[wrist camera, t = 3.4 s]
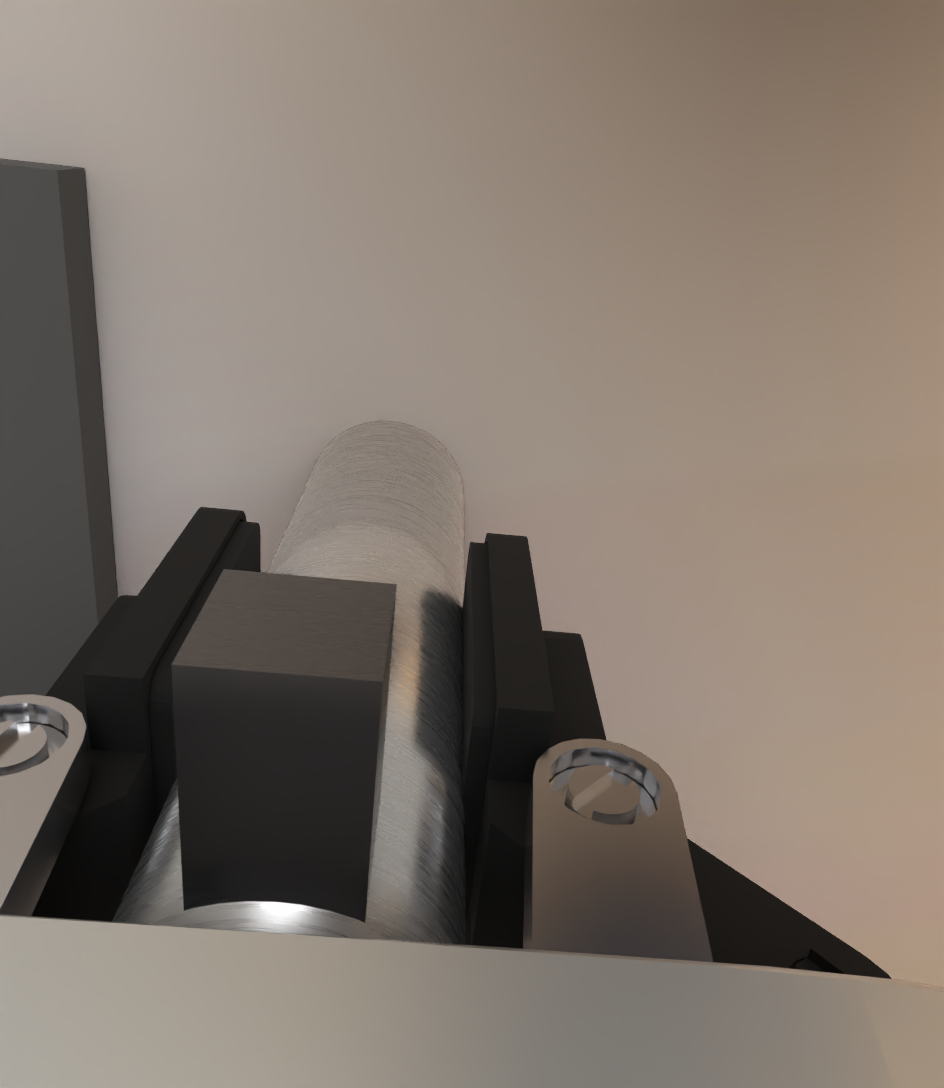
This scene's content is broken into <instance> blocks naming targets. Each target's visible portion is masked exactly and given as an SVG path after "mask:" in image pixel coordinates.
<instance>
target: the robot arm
mask: <svg viewBox="0 0 944 1088" xmlns="http://www.w3.org/2000/svg"><path fill="white" fill-rule="evenodd" d="M224 569H229V570H240V571H252V572H260V526H259V524H258V523H253V522H246V516H245V513H244V511H239V510H228V509H217V508H206V507H201V508H199V509H198V511H197V512H196V513H195V515H194V516H193V518H192V519H191V521H190V522H189V523H188V525H187V526H186V528H185V529H184V530H183V532H182V533H181V535H180V536H179V538H178V539H177V540H176V542H175V543H174V545H173V546H172V548H171V549H170V550H169V552H168V553H167V555H166V556H165V558H164V559H163V560H162V562H161V563H160V565H159V566H158V567H157V569H156V570H155V572H154V573H153V575H152V576H151V577H150V579H149V580H148V582H147V583H146V585H145V586H144V587H143V589H142V590H141V592H140V593H139V595H138V596H131V595H123V596H120V597H119V598H118V599H117V600H116V601H115V602H114V604H113V605H112V606H111V608H110V609H109V610H108V612H107V613H106V614H105V616H104V617H103V618H102V620H101V621H100V622H99V624H98V625H97V626H96V628H95V629H94V630H93V632H92V633H91V635H90V636H89V637H88V639H87V640H86V641H85V643H84V644H83V645H82V647H81V648H80V649H79V651H78V652H77V653H76V655H75V656H74V657H73V659H72V660H71V661H70V663H69V664H68V666H67V667H66V668H65V670H64V671H63V672H62V674H61V675H60V676H59V678H58V679H57V680H56V682H55V683H54V684H53V686H52V687H51V688H50V690H49V691H48V692H47V694H46V695H45V696H41V695H33V694H29V695H10V696H4V697H0V1088H944V988H942V987H937V986H931V985H926V984H920V983H915V982H909V981H903V980H896V979H892V978H891V977H890V976H889V975H888V974H887V973H886V972H884V971H883V970H882V969H881V968H879V967H878V966H877V965H876V964H874V963H873V962H872V961H871V960H869V959H868V958H867V957H866V956H864V955H863V954H861V953H860V952H858V951H857V950H855V949H854V948H852V947H851V946H849V945H848V944H846V943H845V942H843V941H842V940H840V939H839V938H837V937H836V936H834V935H832V934H831V933H829V932H828V931H826V930H825V929H823V928H822V927H820V926H819V925H817V924H816V923H814V922H813V921H811V920H810V919H808V918H807V917H805V916H804V915H802V914H801V913H799V912H798V911H796V910H795V909H793V908H792V907H790V906H789V905H787V904H786V903H784V902H783V901H781V900H780V899H778V898H777V897H775V896H774V895H772V894H771V893H769V892H767V891H766V890H764V889H763V888H761V887H760V886H758V885H757V884H755V883H754V882H752V881H751V880H749V879H748V878H746V877H745V876H743V875H742V874H740V873H739V872H737V871H736V870H734V869H733V868H731V867H730V866H728V865H727V864H725V863H724V862H722V861H721V860H719V859H718V858H716V857H715V856H713V855H712V854H710V853H709V852H707V851H706V850H704V849H702V848H701V847H699V846H698V845H696V844H695V843H693V842H692V841H690V840H689V839H687V837H686V832H685V827H684V823H683V818H682V813H681V809H680V804H679V799H678V795H677V792H676V789H675V787H674V785H673V783H672V780H671V778H670V777H669V776H668V775H667V774H666V772H665V771H664V770H663V769H662V768H661V767H660V766H659V765H658V764H657V763H656V762H654V761H653V760H651V759H650V758H649V757H647V756H646V755H644V754H643V753H641V752H639V751H637V750H634V749H632V748H630V747H627V746H625V745H623V744H620V743H615V742H611V741H606V737H605V732H604V728H603V724H602V720H601V716H600V711H599V707H598V703H597V699H596V694H595V690H594V686H593V682H592V678H591V673H590V669H589V665H588V661H587V656H586V652H585V648H584V644H583V640H582V637H581V635H580V634H576V633H564V632H553V631H542V626H541V620H540V614H539V607H538V601H537V595H536V589H535V582H534V576H533V570H532V563H531V557H530V551H529V545H528V539H527V537H525V536H514V535H503V534H492V533H487V535H486V539H485V543H475V542H470V547H469V554H468V563H467V572H466V580H465V589H464V598H463V607H462V803H463V808H464V816H465V924H466V945H460V944H445V943H430V942H414V941H399V940H384V939H369V938H354V937H339V936H323V935H308V934H293V933H278V932H263V931H247V930H232V929H217V928H202V927H186V926H171V925H156V924H140V923H125V922H112V921H113V918H114V916H115V914H116V912H117V909H118V907H119V905H120V903H121V900H122V898H123V896H124V894H125V891H126V889H127V887H128V885H129V882H130V880H131V878H132V876H133V873H134V871H135V869H136V867H137V864H138V862H139V860H140V858H141V855H142V853H143V851H144V849H145V846H146V844H147V842H148V840H149V837H150V835H151V833H152V831H153V828H154V826H155V824H156V822H157V819H158V817H159V815H160V813H161V810H162V808H163V806H164V804H165V802H166V799H167V797H168V795H169V793H170V790H171V788H172V786H173V784H174V781H175V779H176V777H177V766H176V746H175V725H174V705H173V685H172V665H171V664H172V663H173V661H174V659H175V657H176V655H177V653H178V652H179V650H180V648H181V646H182V644H183V643H184V641H185V639H186V637H187V635H188V633H189V632H190V630H191V628H192V626H193V624H194V622H195V621H196V619H197V617H198V615H199V613H200V612H201V610H202V608H203V606H204V604H205V602H206V601H207V599H208V597H209V595H210V593H211V591H212V590H213V588H214V586H215V584H216V582H217V580H218V579H219V577H220V575H221V573H222V571H223V570H224Z"/></svg>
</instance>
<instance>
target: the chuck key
mask: <svg viewBox="0 0 944 1088" xmlns="http://www.w3.org/2000/svg"><path fill="white" fill-rule="evenodd" d="M463 598H464V490H463V482H462V478H461V474H460V472H459V469H458V467H457V465H456V463H455V461H454V459H453V457H452V456H451V455H450V453H449V452H448V451H447V449H446V448H445V447H444V446H443V445H442V444H441V443H440V442H439V441H437V440H436V439H435V438H434V437H432V436H431V435H429V434H428V433H426V432H424V431H423V430H420V429H418V428H416V427H414V426H411V425H407V424H404V423H399V422H392V421H378V422H370V423H365V424H361V425H358V426H355V427H353V428H351V429H349V430H347V431H345V432H343V433H342V434H340V435H339V436H337V437H336V438H335V439H334V440H333V441H331V442H330V443H329V444H328V445H327V447H326V448H325V449H324V450H323V452H322V453H321V455H320V456H319V458H318V460H317V462H316V464H315V466H314V469H313V471H312V473H311V475H310V478H309V480H308V482H307V484H306V487H305V489H304V491H303V493H302V496H301V498H300V500H299V502H298V505H297V507H296V509H295V511H294V514H293V516H292V518H291V520H290V523H289V525H288V527H287V529H286V532H285V534H284V536H283V538H282V541H281V543H280V545H279V547H278V550H277V552H276V554H275V556H274V559H273V561H272V563H271V565H270V568H269V570H268V572H267V573H263V572H252V571H240V570H229V569H224V570H223V571H222V573H221V575H220V577H219V579H218V580H217V582H216V584H215V586H214V588H213V590H212V591H211V593H210V595H209V597H208V599H207V601H206V602H205V604H204V606H203V608H202V610H201V612H200V613H199V615H198V617H197V619H196V621H195V622H194V624H193V626H192V628H191V630H190V632H189V633H188V635H187V637H186V639H185V641H184V643H183V644H182V646H181V648H180V650H179V652H178V653H177V655H176V657H175V659H174V661H173V663H172V664H171V665H172V685H173V705H174V725H175V746H176V766H177V777H176V779H175V781H174V784H173V786H172V788H171V790H170V793H169V795H168V797H167V799H166V802H165V804H164V806H163V808H162V810H161V813H160V815H159V817H158V819H157V822H156V824H155V826H154V828H153V831H152V833H151V835H150V837H149V840H148V842H147V844H146V846H145V849H144V851H143V853H142V855H141V858H140V860H139V862H138V864H137V867H136V869H135V871H134V873H133V876H132V878H131V880H130V882H129V885H128V887H127V889H126V891H125V894H124V896H123V898H122V900H121V903H120V905H119V907H118V909H117V912H116V914H115V916H114V918H113V921H112V922H125V923H140V924H156V925H171V926H186V927H202V928H217V929H232V930H247V931H263V932H278V933H293V934H308V935H323V936H339V937H354V938H369V939H384V940H399V941H414V942H430V943H445V944H460V945H466V924H465V816H464V808H463V803H462V607H463Z"/></svg>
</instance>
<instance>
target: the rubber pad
mask: <svg viewBox="0 0 944 1088" xmlns="http://www.w3.org/2000/svg"><path fill="white" fill-rule="evenodd" d="M117 599H118V598H117V585H116V572H115V559H114V546H113V533H112V520H111V507H110V494H109V481H108V469H107V456H106V443H105V430H104V417H103V404H102V391H101V378H100V365H99V352H98V339H97V327H96V314H95V301H94V288H93V275H92V262H91V249H90V236H89V223H88V210H87V197H86V184H85V172H84V168H80V167H71V166H62V165H53V164H44V163H35V162H26V161H17V160H8V159H0V697H4V696H10V695H29V694H33V695H41V696H45V695H46V694H47V692H48V691H49V690H50V688H51V687H52V686H53V684H54V683H55V682H56V680H57V679H58V678H59V676H60V675H61V674H62V672H63V671H64V670H65V668H66V667H67V666H68V664H69V663H70V661H71V660H72V659H73V657H74V656H75V655H76V653H77V652H78V651H79V649H80V648H81V647H82V645H83V644H84V643H85V641H86V640H87V639H88V637H89V636H90V635H91V633H92V632H93V630H94V629H95V628H96V626H97V625H98V624H99V622H100V621H101V620H102V618H103V617H104V616H105V614H106V613H107V612H108V610H109V609H110V608H111V606H112V605H113V604H114V602H115V601H116V600H117Z"/></svg>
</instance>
